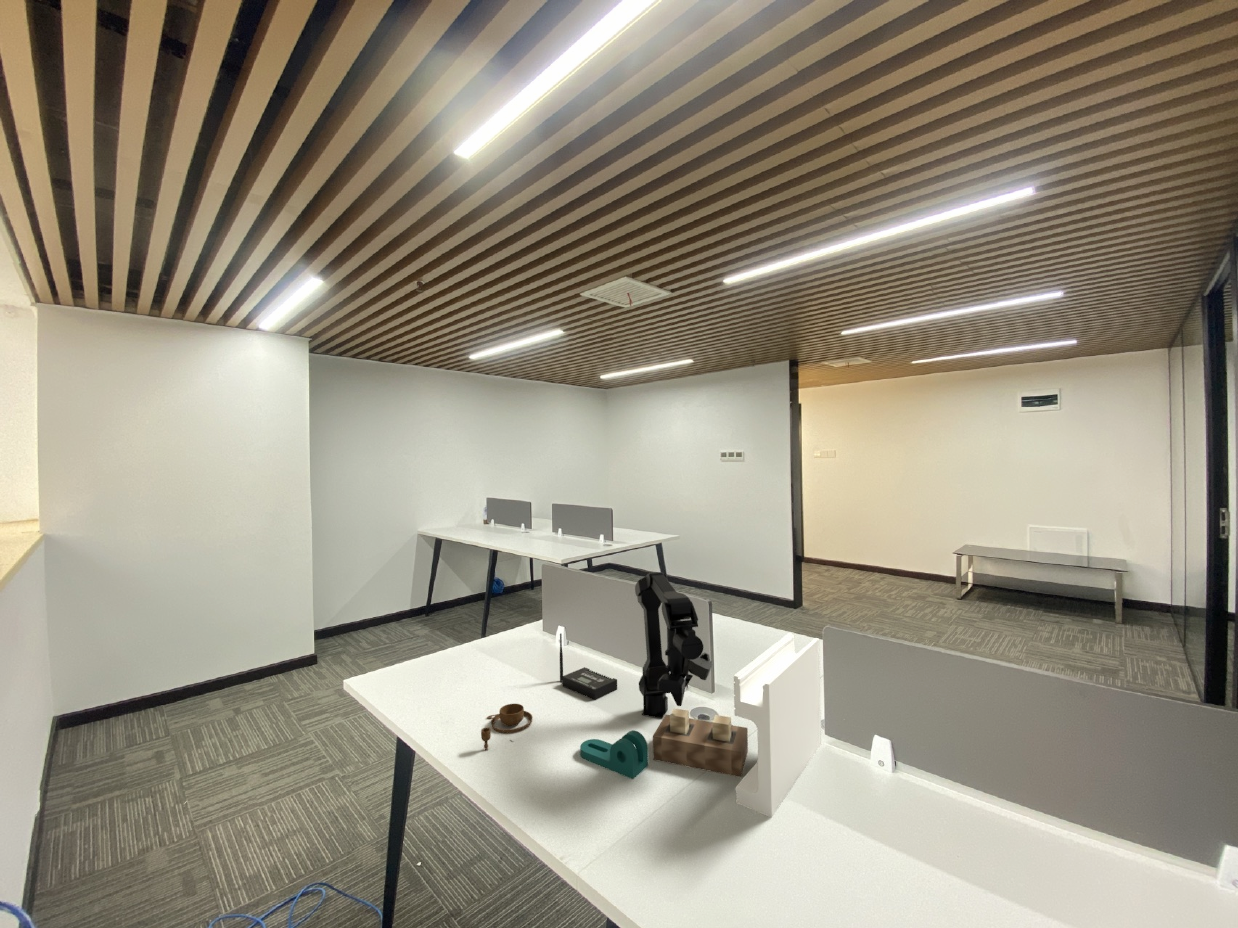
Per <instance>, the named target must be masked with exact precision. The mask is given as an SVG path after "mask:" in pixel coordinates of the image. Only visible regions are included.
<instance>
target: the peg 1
mask: <svg viewBox="0 0 1238 928" xmlns="http://www.w3.org/2000/svg"><path fill="white" fill-rule="evenodd" d="M669 715H670V732H676V733H681V734H687V733H688V731H689V718H690V710H686V709H682V708H675V707H674V708H673V709H672V711H671V713H670V714H669Z"/></svg>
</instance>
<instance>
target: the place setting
mask: <svg viewBox="0 0 1238 928" xmlns="http://www.w3.org/2000/svg"><path fill="white" fill-rule="evenodd" d="M524 717H525V718H526V717H527V718H528V720H529V722H528V723H526V724H524V725H522V726H520V727H516V728H511V729H505V728H504V729H503V728H499V727H496V726H495V725H494V724H495V723H496V722H497V721H498V720H500V722H501V723H502V725H505V726H506V727H509V728H510V727H515V726H517V725H519V724H520V723H521V722H522V720H523V719H524ZM486 719H487V720H490V726H491V728H492V729H493V731H494V732H497V733H500V734H514V733H518V732H522V731H524V730H526V729H528V728H529V727H530V726H531V725H532V722H533V714H531V712H529V711H526V710H525V707H524V706H523V705H522V704H520V703H509V704H505V705H503V706H501V707H500V709H499V713H497V714H492V715H488V716H487V717H486ZM491 728H490V727H484V728H481V730H480V736H481V737H480V739H481V740H482V742H484V745H483V748H484V750H483V751H484V752H487V751H489V749H488V747H489V744H488V742H489V741H490V739H491V737H492V735H491V734H492V733H491ZM509 741H510V742H511V743H514V742H515V741H514V740H512V739H509Z"/></svg>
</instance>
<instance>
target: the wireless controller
mask: <svg viewBox="0 0 1238 928" xmlns="http://www.w3.org/2000/svg"><path fill="white" fill-rule="evenodd" d="M562 638H563V637H562V633H561V632H560V634H559V681H560V682H561V683H562V684H561V686H562V687H563V688H566V689H567V690H569V691H572V692H575V693H577V694H580V695H582V696H584V697H586V698H588V699H591V700H593V701H597V700H599V699H601V698H603V697H605V696H607V695H609V694H612V693H614V692H615V691H618V679H616V678H612V677H610V676H607V675H606V674H605V675H604V674H602V673H598V672H597V671H594V670H592V669H590V668H588V667H585V666H584V667H582V668H580V669H577V670H574V671H572V672H569V673H567V674H565V675H564V663H563V662H564V654H563V645H562V644H563V639H562Z"/></svg>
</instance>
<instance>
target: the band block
mask: <svg viewBox="0 0 1238 928" xmlns="http://www.w3.org/2000/svg"><path fill="white" fill-rule="evenodd" d="M712 722H713V721H708V720H704V719H703V720H701V719H696V718H690V717H689V731H688V733H687V734H681V733H676V732H670V714H665V715H664V716H663V718H662V720H661V722H659V725H658V726H657V729H656V730H655V731H654V733H653V734H652V760H653V761H656V762H662V763H668V764H673V765H677V766H678V765H679V766H683V767H688V768H693V769H697V770H703V771H707V772H713V773H718V774H724V775H727V776H732V777H733V776H734V777H736V778H737V777H738V778H743V777H742V776H743V773H744V770H745V769H744V768H745V765H746V760H747V757H748V753H749V742H748V741H749V740H748V736H749V735H748V730H749V729H748V727H744V726H739V725H732V724H731V737H732V738H731V741H730V742H727V741H721V740H715V739H713V725H712Z"/></svg>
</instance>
